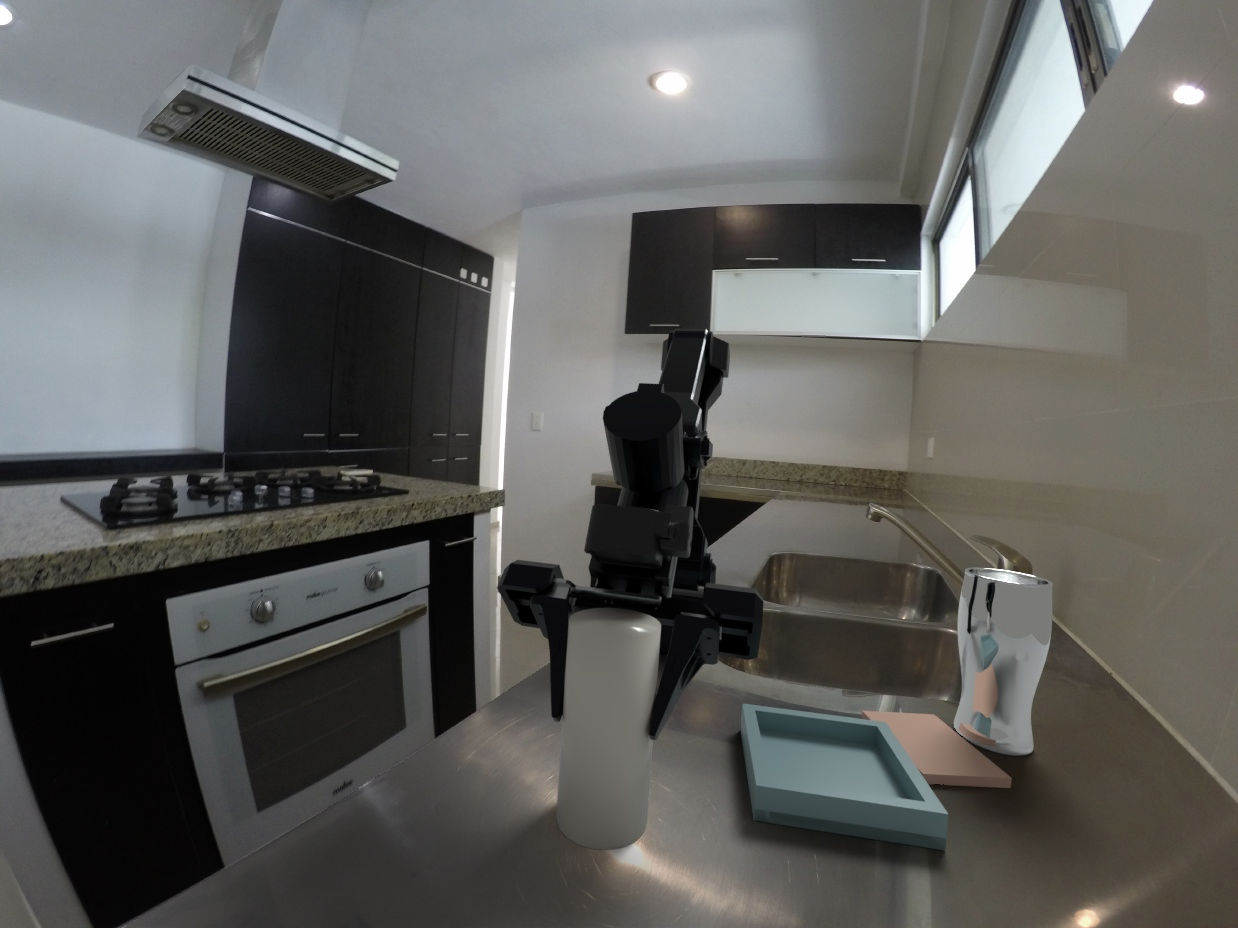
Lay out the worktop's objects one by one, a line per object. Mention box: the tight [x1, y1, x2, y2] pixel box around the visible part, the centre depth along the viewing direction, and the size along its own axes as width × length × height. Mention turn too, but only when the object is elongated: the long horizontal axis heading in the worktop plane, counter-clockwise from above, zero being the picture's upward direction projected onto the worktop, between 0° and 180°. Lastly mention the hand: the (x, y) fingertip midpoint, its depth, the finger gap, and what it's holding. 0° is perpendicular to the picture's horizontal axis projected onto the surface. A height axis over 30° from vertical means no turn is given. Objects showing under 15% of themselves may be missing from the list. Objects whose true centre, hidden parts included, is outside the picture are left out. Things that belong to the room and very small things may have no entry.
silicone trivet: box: [861, 710, 1012, 789], centre depth 48 cm, size 10×7×1 cm
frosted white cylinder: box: [555, 608, 661, 851], centre depth 36 cm, size 6×6×13 cm
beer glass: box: [953, 566, 1054, 757], centre depth 50 cm, size 7×7×15 cm
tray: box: [739, 703, 949, 852], centre depth 42 cm, size 12×12×2 cm
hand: (603, 728), depth 35 cm, fingers closed on frosted white cylinder, 6 cm apart
